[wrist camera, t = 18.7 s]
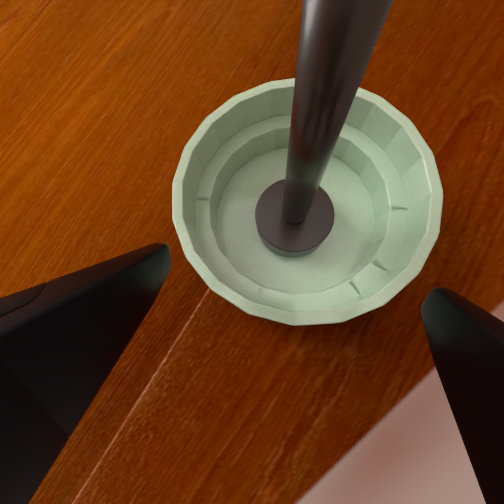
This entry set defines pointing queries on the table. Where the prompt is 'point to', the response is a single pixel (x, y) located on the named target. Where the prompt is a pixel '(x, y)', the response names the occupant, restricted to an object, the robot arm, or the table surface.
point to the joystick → (318, 119)
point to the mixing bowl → (340, 192)
